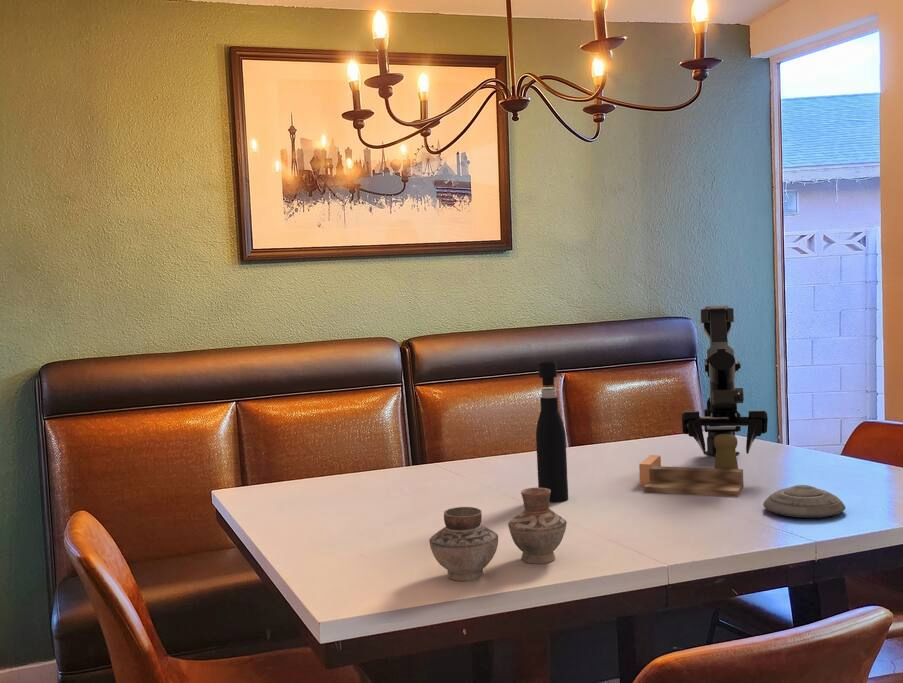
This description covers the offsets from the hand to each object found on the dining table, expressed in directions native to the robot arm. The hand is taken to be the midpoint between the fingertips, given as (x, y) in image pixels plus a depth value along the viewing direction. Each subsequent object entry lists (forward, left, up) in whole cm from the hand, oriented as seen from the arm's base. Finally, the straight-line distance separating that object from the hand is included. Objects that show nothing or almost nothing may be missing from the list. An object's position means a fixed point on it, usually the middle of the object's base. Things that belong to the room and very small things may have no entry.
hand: (725, 452), depth 203 cm
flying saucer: (+3, +27, -8) cm, 29 cm away
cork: (-1, -1, -7) cm, 7 cm away
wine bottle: (+39, -9, -7) cm, 41 cm away
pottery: (+69, +29, -7) cm, 75 cm away
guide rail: (+7, -3, -7) cm, 11 cm away
